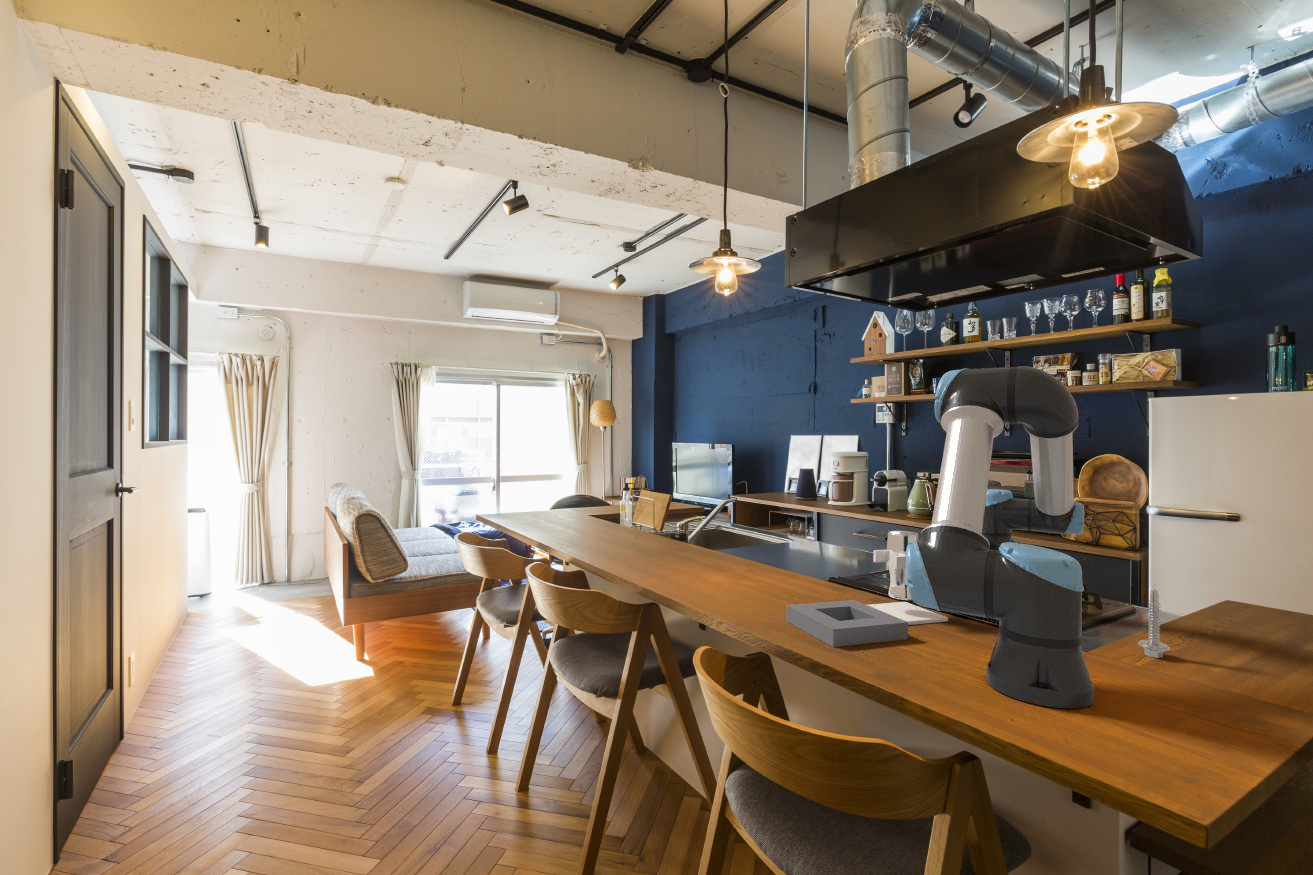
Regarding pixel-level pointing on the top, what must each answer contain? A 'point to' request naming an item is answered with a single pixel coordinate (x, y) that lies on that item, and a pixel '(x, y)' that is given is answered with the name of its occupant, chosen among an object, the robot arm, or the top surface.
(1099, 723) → the top surface
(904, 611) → the stone tile
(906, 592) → the metal tumbler
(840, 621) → the pocket holder
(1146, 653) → the screw
